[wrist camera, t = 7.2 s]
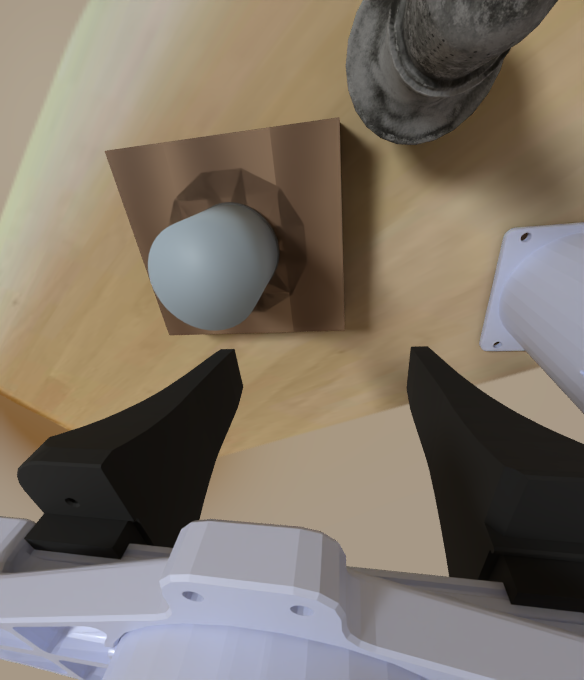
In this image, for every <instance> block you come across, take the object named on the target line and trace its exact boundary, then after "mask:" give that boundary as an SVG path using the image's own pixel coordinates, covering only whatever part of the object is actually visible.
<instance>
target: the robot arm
mask: <svg viewBox="0 0 584 680" xmlns="http://www.w3.org/2000/svg"><path fill="white" fill-rule="evenodd" d="M524 233H528V236H527V238H526V239H525V240H522V241H521V236H522V235H523V234H524ZM496 342H499V344H497V345H494V343H496ZM479 345H480V347H481V348H482V350H484V351H526V352H527V353H528V354H529V355H530V356H531V357H532V358H533V359H534V360H535V362H536V363H537V364H538V365H539V366H540V367H541V368H542V369H543V370H544V371H545V372H546V373H547V375H548V376H549V377H550V378H551V379H552V380H553V381H554V382H555V383H556V384H557V385H558V386H559V388H560V389H561V390H562V391H563V392H564V393H565V394H566V395H567V396H568V397H569V398H570V399H571V400H572V402H573V403H574V404H575V405H576V406H577V407H578V408H579V409H580V410H581V411H582V412H583V414H584V222H581V223H568V224H555V225H542V226H529V227H516V228H511V229H510V230H508V231H507V232H506V233H505V235H504V237H503V241H502V246H501V250H500V254H499V259H498V263H497V268H496V272H495V276H494V281H493V285H492V289H491V294H490V298H489V303H488V307H487V311H486V316H485V320H484V325H483V329H482V333H481V338H480V342H479ZM242 390H243V384H242V380H241V375H240V371H239V367H238V362H237V358H236V354H235V349H221V350H219V351H218V352H216V353H215V354H213V355H212V356H210V357H209V358H208V359H206V360H205V361H204V362H202V363H201V364H200V365H198V366H197V367H195V368H194V369H193V370H191V371H190V372H189V373H187V374H186V375H184V376H183V377H181V378H180V379H178V380H177V381H175V382H174V383H172V384H171V385H169V386H168V387H166V388H165V389H163V390H162V391H160V392H158V393H156V394H155V395H153V396H151V397H149V398H148V399H146V400H144V401H142V402H140V403H138V404H136V405H134V406H132V407H129V408H127V409H125V410H123V411H121V412H119V413H117V414H114V415H112V416H110V417H107V418H105V419H102V420H100V421H97V422H94V423H92V424H89V425H86V426H83V427H80V428H77V429H74V430H71V431H68V432H65V433H62V434H59V435H55V436H52V437H49V438H48V439H47V440H46V441H45V442H44V443H43V444H42V445H41V446H40V447H39V448H38V449H37V450H36V451H35V452H34V453H33V454H32V455H31V456H30V457H29V458H28V459H27V460H26V461H25V462H24V463H23V464H22V465H21V466H20V467H19V468H18V472H17V477H18V480H19V483H20V485H21V486H22V488H23V489H24V491H25V492H26V493H27V494H28V495H29V496H30V497H31V499H32V500H33V501H34V502H35V503H36V504H37V505H38V507H39V508H40V509H41V510H42V511H43V512H44V515H43V516H42V517H41V518H40V520H39V521H38V522H37V523H35V522H33V521H31V520H28V519H24V518H23V519H22V518H13V517H3V516H0V659H2V660H7V661H11V662H15V663H19V664H23V665H27V666H31V667H35V668H39V669H42V670H47V671H50V672H54V673H57V674H61V675H65V676H68V677H72V678H76V679H79V680H584V444H582V443H580V442H577V441H575V440H573V439H570V438H568V437H566V436H563V435H561V434H559V433H557V432H554V431H552V430H550V429H548V428H546V427H543V426H542V425H540V424H538V423H536V422H534V421H532V420H530V419H528V418H526V417H524V416H522V415H520V414H518V413H516V412H515V411H513V410H511V409H509V408H508V407H506V406H505V405H503V404H501V403H500V402H498V401H496V400H495V399H493V398H492V397H490V396H489V395H487V394H486V393H484V392H483V391H481V390H480V389H478V388H477V387H476V386H474V385H473V384H472V383H470V382H469V381H468V380H466V379H465V378H464V377H463V376H461V375H460V374H459V373H458V372H456V371H455V370H454V369H453V368H452V367H450V366H449V365H448V364H447V363H446V362H445V361H444V360H442V359H441V358H440V357H439V356H438V355H437V354H436V353H435V352H433V351H432V350H431V349H430V348H429V347H428V346H425V347H411V351H410V361H409V370H408V380H407V393H408V399H409V404H410V410H411V413H412V416H413V419H414V423H415V425H416V429H417V432H418V435H419V438H420V441H421V444H422V447H423V450H424V453H425V456H426V460H427V463H428V467H429V470H430V475H431V480H432V484H433V489H434V493H435V499H436V504H437V509H438V514H439V519H440V525H441V530H442V536H443V542H444V547H445V553H446V559H447V565H448V572H449V577H444V576H435V575H426V574H416V573H406V572H397V571H387V570H378V569H367V568H358V567H349V566H346V555H345V554H344V552H343V550H342V548H341V546H340V544H339V543H338V542H337V541H336V540H334V539H332V538H331V537H329V536H328V535H326V534H324V533H323V532H321V531H317V530H312V529H308V528H304V527H298V526H286V525H274V524H262V523H251V522H239V521H227V520H216V519H207V520H199V519H200V515H201V511H202V507H203V503H204V499H205V495H206V492H207V488H208V485H209V481H210V478H211V475H212V471H213V468H214V465H215V461H216V459H217V456H218V453H219V451H220V448H221V446H222V444H223V441H224V439H225V437H226V434H227V432H228V430H229V427H230V425H231V423H232V420H233V418H234V415H235V413H236V410H237V408H238V405H239V401H240V398H241V394H242Z"/></svg>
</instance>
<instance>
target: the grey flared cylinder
mask: <svg viewBox="0 0 584 680" xmlns="http://www.w3.org/2000/svg"><path fill="white" fill-rule="evenodd" d="M557 1H558V0H363V1H362V3H361V5H360V7H359V9H358V11H357V13H356V16H355V19H354V23H353V26H352V29H351V33H350V36H349V39H348V49H347V59H346V73H347V83H348V91H349V94H350V96H351V99H352V102H353V105H354V108H355V111H356V112H357V114H358V115H359V117H360V118H361V119H362V121H363V122H364V124H365V125H366V127H367V128H369V129H370V130H371V131H372V132H374V133H375V134H376V135H377V136H379V137H380V138H382V139H385V140H387V141H390V142H393V143H395V144H407V145H417V144H421V143H425V142H429V141H433V140H436V139H438V138H440V137H441V136H443V135H445V134H447V133H449V132H451V131H453V130H454V129H455V128H457V127H458V126H459V125H460V124H461V123H462V122H464V121H465V120H466V119H467V118H468V117H469V116H470V115H472V114H473V112H474V111H475V110H476V108H477V107H478V106H479V105H480V103H481V102H482V101H483V99H484V98H485V97H486V96H487V94H488V93H489V91H490V89H491V87H492V85H493V83H494V81H495V79H496V77H497V75H498V73H499V71H500V69H501V67H502V63H503V60H504V58H505V56H506V55H507V54H508V52H509V51H510V49H511V47H513V46H514V45H516V44H518V43H519V42H521V41H522V40H523V39H524V38H525V37H526V36H527V35H528V34H530V33H531V32H532V31H533V30H534V29H535V28H536V27H537V26H538V25H539V24H540V23H541V21H542V20H543V19H544V18H545V16H546V15H547V14H548V13H549V11H550V10H551V9H552V7H553V6H554V5H555V3H556V2H557Z"/></svg>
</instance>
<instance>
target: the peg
mask: <svg viewBox="0 0 584 680" xmlns="http://www.w3.org/2000/svg"><path fill="white" fill-rule="evenodd" d="M278 262H279V244H278V240H277V237H276V234H275V232H274V230H273V228H272V227H271V225H270V224H269V222H268V221H267V220H266V219H265V218H264V217H263V216H262V215H261V214H260V213H259V212H257V211H256V210H255V209H253V208H251V207H249V206H247V205H244V204H240V203H235V202H225V203H220V204H217V205H214V206H212V207H210V208H208V209H206V210H205V211H203V212H200V213H198V214H196V215H193V216H191V217H189V218H186V219H184V220H182V221H179V222H177V223H175V224H173V225H171V226H169V227H167V228H166V229H164V230H163V231H162V232H161V233H160V234H159V235H158V236H157V237H156V239H155V240H154V242H153V244H152V246H151V249H150V252H149V257H148V272H149V277H150V281H151V284H152V287H153V289H154V291H155V293H156V295H157V297H158V298H159V300H160V301H161V302H162V304H163V305H164V306H165V307H166V308H167V309H168V310H169V311H170V312H171V313H172V314H173V315H174V316H176V317H177V318H178V319H180V320H181V321H183V322H185V323H187V324H189V325H191V326H194V327H196V328H200V329H204V330H215V331H217V330H225V329H229V328H232V327H234V326H236V325H238V324H240V323H241V322H243V321H244V320H245V319H246V318H247V317H248V316H249V315H250V314H251V312H252V311H253V309H254V307H255V306H256V304H257V302H258V300H259V298H260V297H261V295H262V293H263V291H264V289H265V288H266V286H267V284H268V282H269V281H270V280H271V278H272V277H273V275H274V273H275V271H276V269H277V266H278Z"/></svg>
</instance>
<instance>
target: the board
mask: <svg viewBox="0 0 584 680" xmlns="http://www.w3.org/2000/svg"><path fill="white" fill-rule="evenodd" d="M105 153H106V156H107V159H108V162H109V165H110V168H111V170H112V173H113V176H114V179H115V182H116V185H117V188H118V190H119V193H120V196H121V199H122V202H123V205H124V207H125V210H126V213H127V216H128V219H129V222H130V225H131V227H132V230H133V233H134V236H135V239H136V242H137V244H138V247H139V250H140V253H141V256H142V259H143V262H144V264H145V267H146V270H147V273H148V276H149V272H148V257H149V252H150V249H151V246H152V244H153V242H154V240H155V239H156V237H157V236H158V235H159V234H160V233H161V232H162V231H163V230H164V229H166V228H167V227H169V226H171V225H173V224H175V223H177V222H179V221H182V220H184V219H186V218H189V217H191V216H193V215H196V214H198V213H200V212H203V211H205V210H206V209H208V208H210V207H212V206H214V205H217V204H220V203H225V202H235V203H240V204H244V205H247V206H249V207H251V208H253V209H255V210H256V211H257V212H259V213H260V214H261V215H262V216H263V217H264V218H265V219H266V220H267V221H268V222H269V224H270V225H271V227H272V228H273V230H274V232H275V234H276V237H277V240H278V244H279V262H278V266H277V269H276V271H275V273H274V275H273V277H272V278H271V280H270V281H269V282H268V284H267V286H266V288H265V289H264V291H263V293H262V295H261V297H260V298H259V300H258V302H257V304H256V306H255V307H254V309H253V311H252V312H251V314H250V315H249V316H248V317H247V318H246V319H245V320H244V321H243V322H241V323H240V324H238V325H236V326H234V327H232V328H229V329H225V330H217V331H215V330H204V329H200V328H196V327H194V326H191V325H189V324H187V323H185V322H183V321H181V320H180V319H178V318H177V317H176V316H174V315H173V314H172V313H171V312H170V311H169V310H168V309H167V308H166V307H165V306H164V305H163V304H162V302H161V301H160V300H159V298H158V297H157V295H156V293H155V291H154V293H155V296H156V299H157V301H158V304H159V307H160V310H161V313H162V316H163V318H164V321H165V324H166V327H167V330H168V333H169V335H197V334H233V333H269V332H305V331H341V330H345V318H344V276H343V236H342V196H341V156H340V120H339V117H338V118H331V119H325V120H318V121H311V122H304V123H297V124H290V125H283V126H276V127H269V128H262V129H255V130H248V131H241V132H234V133H227V134H220V135H213V136H206V137H199V138H192V139H185V140H178V141H171V142H164V143H157V144H150V145H143V146H136V147H129V148H122V149H115V150H108V151H105ZM149 279H150V277H149ZM153 290H154V289H153Z"/></svg>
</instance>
